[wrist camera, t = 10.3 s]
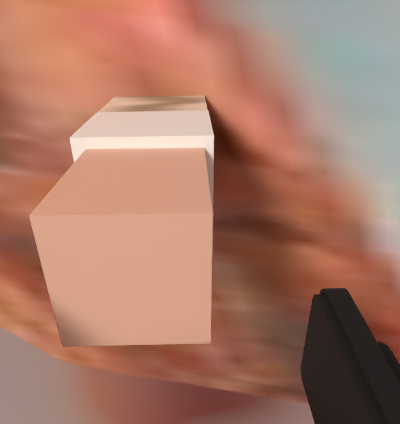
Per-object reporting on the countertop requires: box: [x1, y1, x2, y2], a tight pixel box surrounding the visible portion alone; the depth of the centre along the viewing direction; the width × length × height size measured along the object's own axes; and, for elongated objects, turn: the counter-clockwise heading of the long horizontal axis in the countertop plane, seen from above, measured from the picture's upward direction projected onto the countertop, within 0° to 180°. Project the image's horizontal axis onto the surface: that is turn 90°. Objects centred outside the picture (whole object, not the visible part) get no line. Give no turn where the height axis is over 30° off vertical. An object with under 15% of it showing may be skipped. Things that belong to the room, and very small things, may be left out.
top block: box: [29, 148, 213, 347], centre depth 14 cm, size 5×5×6 cm
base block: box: [99, 95, 208, 112], centre depth 23 cm, size 6×6×5 cm
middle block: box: [70, 111, 214, 255], centre depth 18 cm, size 6×6×5 cm
